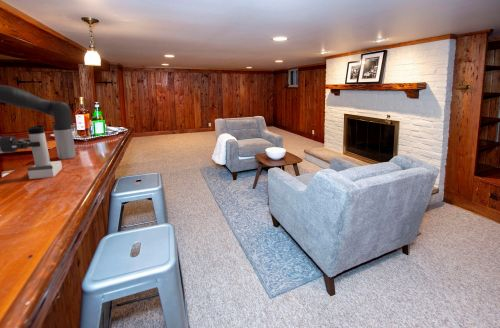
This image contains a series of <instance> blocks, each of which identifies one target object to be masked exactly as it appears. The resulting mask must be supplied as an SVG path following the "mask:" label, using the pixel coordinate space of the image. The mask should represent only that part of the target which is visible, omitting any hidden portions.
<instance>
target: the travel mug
mask: <svg viewBox="0 0 500 328" xmlns="http://www.w3.org/2000/svg"><path fill="white" fill-rule="evenodd" d="M27 131H28V137H29V138H28V139H30V142H40V146H39V147H30V148H31V152H32V156H33V161H34V166H35V167H38V166H50V165H51V163H50V162H51V160H50V154H49V149H48V143H47V137H46V133H45V129H44V124H43V125H42V124H41V125H40V124H39V125H36V126H35V125H34V126H30V127H28V128H27Z"/></svg>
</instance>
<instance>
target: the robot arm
mask: <svg viewBox="0 0 500 328" xmlns="http://www.w3.org/2000/svg"><path fill="white" fill-rule="evenodd" d="M0 103H4V104H7V105H10V106H14V107H18V108H22V109H28V110H32V111H37V112H40V113H43V114H45V115H48V116H51V117H53V118H54V123H53V125H52V129H53V136H54V140H55V141H54V142H55V146H56V152H57V158H58V159H59V160H68V159H74V158H76V157H77V155H76V146H75V142H74V136H73V134H74V133H73V130H72V126H73V125H72V124H73V121H72V120H73V119H72V112H71V108H70V106H69V105H68V103H67V102H64V101H53V100H50V99H45V98H41V97H38V96H37V95H34V94H33V93H30V91H29V92H28V91H26V90H24V89H21V88H17V87H14V86H10V85H5V84H4V85H3V84H0ZM39 146H40V142H30V138H20V139H17V138H16V137H15V136H13V135H12V136H0V154H5V153H8V154H9V153H16V152H17V151H18V150H23V149H25V150H27V149H30V148H31V147H39Z"/></svg>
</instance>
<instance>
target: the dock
mask: <svg viewBox="0 0 500 328" xmlns="http://www.w3.org/2000/svg"><path fill="white" fill-rule="evenodd" d="M50 163H51V165H50V166H38V167H35V165H33V166H27V167H26V169H27V174H28V178H29V180H32V179H45V178H54V177H55V176H56V175H57V174H58V173H59V172H60V171H61V170H62V169H63V166H62V165H63V164H62V161H61V160H57V161H50Z"/></svg>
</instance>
